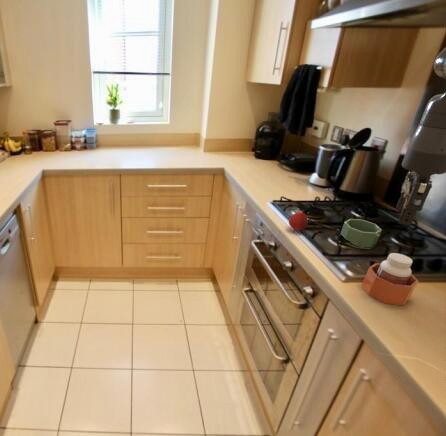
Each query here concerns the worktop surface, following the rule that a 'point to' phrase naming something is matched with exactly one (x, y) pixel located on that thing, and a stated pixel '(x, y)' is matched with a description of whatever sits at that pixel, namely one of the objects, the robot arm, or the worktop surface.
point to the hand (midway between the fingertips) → (402, 216)
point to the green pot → (361, 233)
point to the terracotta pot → (387, 287)
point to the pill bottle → (395, 269)
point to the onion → (298, 221)
